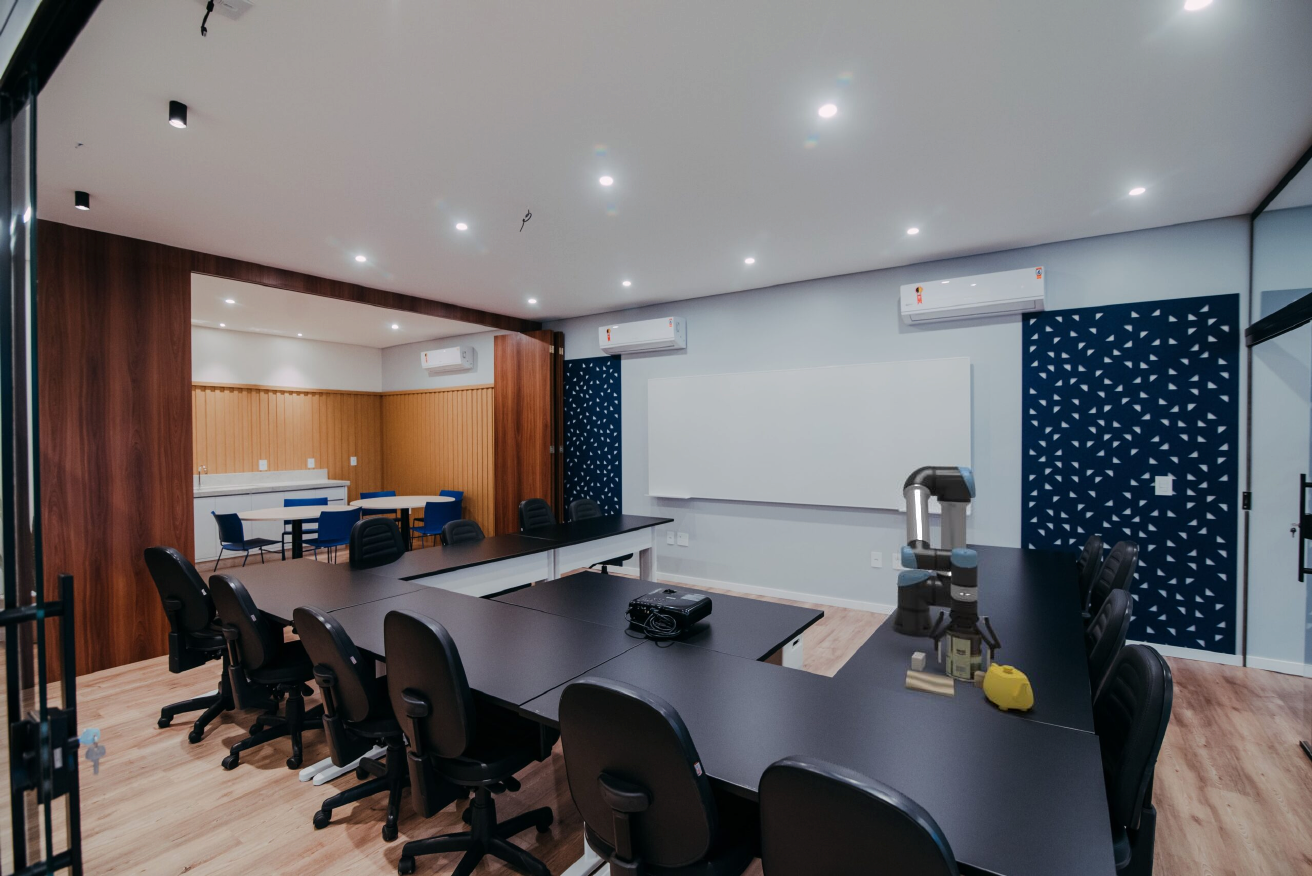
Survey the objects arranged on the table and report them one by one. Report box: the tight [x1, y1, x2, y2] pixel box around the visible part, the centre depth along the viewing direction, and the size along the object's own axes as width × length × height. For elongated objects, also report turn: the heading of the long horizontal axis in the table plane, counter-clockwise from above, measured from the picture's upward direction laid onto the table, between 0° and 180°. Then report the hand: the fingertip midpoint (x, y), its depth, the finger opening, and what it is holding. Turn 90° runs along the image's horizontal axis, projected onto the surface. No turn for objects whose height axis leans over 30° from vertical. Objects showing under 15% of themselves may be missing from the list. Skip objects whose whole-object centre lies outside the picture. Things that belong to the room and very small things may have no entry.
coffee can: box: [945, 626, 983, 683], centre depth 180 cm, size 10×10×14 cm
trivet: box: [904, 669, 955, 698], centre depth 173 cm, size 13×13×1 cm
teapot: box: [982, 662, 1034, 712], centre depth 159 cm, size 18×11×11 cm, turn 177°
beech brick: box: [973, 671, 987, 689], centre depth 171 cm, size 6×3×4 cm, turn 44°
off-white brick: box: [910, 651, 926, 672], centre depth 186 cm, size 6×3×4 cm, turn 143°
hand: (963, 665), depth 180 cm, fingers open, 13 cm apart
